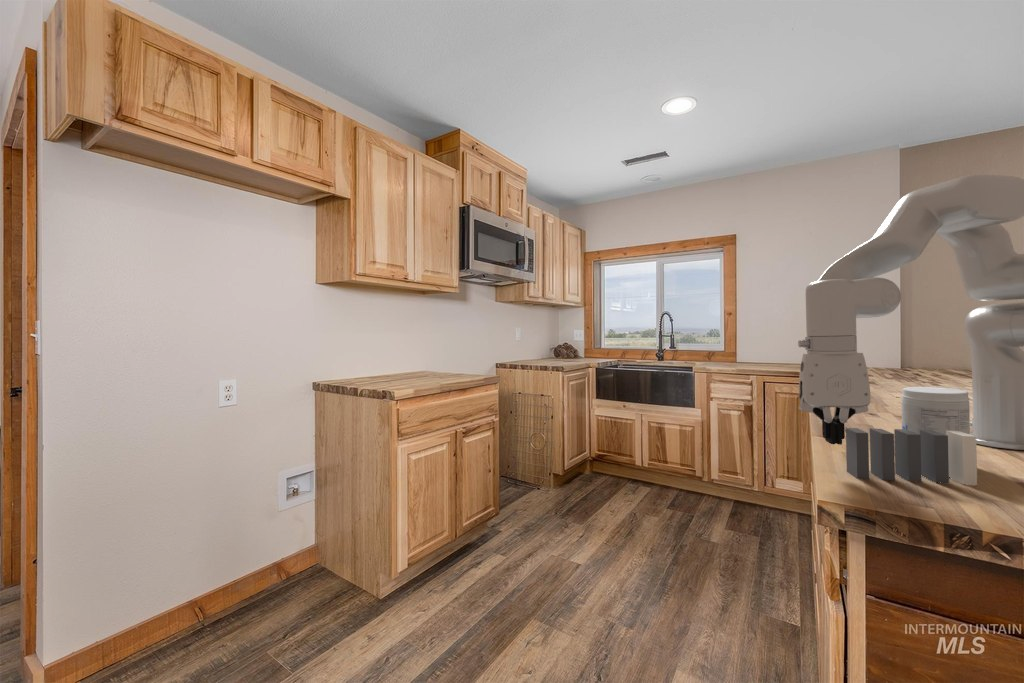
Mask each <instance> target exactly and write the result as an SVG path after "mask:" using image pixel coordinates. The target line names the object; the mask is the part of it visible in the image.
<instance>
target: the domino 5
mask: <svg viewBox="0 0 1024 683" xmlns="http://www.w3.org/2000/svg"><path fill="white" fill-rule="evenodd" d="M946 435H948V461H949V477H950V478H952V479H951V480H953V479H954V480H953V481H955V480H956V481H955V482H957V481H958V482H957V483H959V482H960V483H959V484H961V483H962V484H961V485H963V484H966V485H965V486H975V485H977V486H978V462H977V461H978V458H977V457H978V456H977V453H978V452H977V444H976V436H973V435H970V434H967V433H964V432H960V431H946ZM950 478H949V479H950ZM967 484H968V485H967Z"/></svg>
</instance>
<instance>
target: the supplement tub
mask: <svg viewBox="0 0 1024 683" xmlns="http://www.w3.org/2000/svg"><path fill="white" fill-rule="evenodd" d="M901 391H902V394H901V429H906V430H909V431H912V432H914V433H917V434H920V430H933V431H936V432H939V433H942V434H945V435H946V431H960V432H964V433H967V434H970V433H971V432H970V431H971V430H970V429H971V428H970V427H971V426H970V421H971V420H970V419H971V418H970V412H971V410H970V409H971V408H970V398H969V392H968V391H967V390H964V389H959V388H951V387H950V388H949V387H938V386H937V387H935V386H907V387H903V388H902V390H901Z"/></svg>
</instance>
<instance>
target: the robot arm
mask: <svg viewBox="0 0 1024 683" xmlns="http://www.w3.org/2000/svg"><path fill="white" fill-rule="evenodd" d="M1023 217H1024V178H1021V177H1019V176H1014V175H999V174H998V175H996V174H973V175H972V174H971V175H965V176H964V175H963V176H960V177H958V178H952V179H949V180H946V181H943V182H939V183H936V184H933V185H928V186H925V187H922V188H918V189H915V190H913V191H910V192H909V193H907V194H905V195H904V196H902V197H901V198H900V199H899V200H898V201H897V203H896V204H895V205H894V207H892V210H891V211H890V212H889V213H888V215H887V216H886V218H885V219H884V220H883V222H882V223H881V225H880V226H879V227H878V229H877V230H876V232H875V233H874V235H872V237H871V238H870V239H869V240H867V241H865V242H863V243H862V244H860V245H858V246H857V247H855V248H854V249H852V250H851V251H849V252H848V253H847V254H845V255H843V256H842V257H841V258H839V259H837V260H836V261H834V262H833V263H832V264H831V265H830V266H828V267H827V269H826V270H825V271H824V272H823V273H822V275H821V276H820V277H819V279H818V280H815V281H812V282H810V283H809V284H807V286H806V288H805V316H806V317H805V319H806V320H805V321H806V322H805V324H806V336H805V338H804V339H802V340H798V342H797V345H798V348H803V349H805V351H806V352H803V354H802V357H801V361H800V362H801V363H800V369H799V375H798V377H799V378H798V396H799V398H798V399H799V405H798V409H799V410H801V411H803V412H806V413H811V414H814V415H815V416H816V417H818V418H819V420H820V421H821V427H822V428H821V429H822V432H821V433H822V438H823V439H824V440H825V442H826V443H828V444H830V445H836V444H837V445H839V446H840V445H843V440H845V439H846V431H845V424H846V423H847V422H848V421H849V419H851V418H852V417H853V416H854V415H856V414H863V413H867V412H868V411H869V405H870V404H871V399H872V398H871V396H872V395H871V386H870V380H869V373H868V368H867V367H868V366H867V364H866V360H865V356H864V353H863V352H858V341H857V340H858V339H857V337H858V336H857V319H866V318H867V319H869V318H879V317H884V316H886V315H889V314H891V313H893V312H894V311H895V310H896V309H898V306H899V305H900V303H901V299H902V293H901V290H900V287H899V286H898V285H897V284H896V283H895V282H893V281H892V280H890V279H887V278H884V277H878V276H881V275H884V274H887V273H890V272H893V271H895V270H898V269H899V268H903V267H905V266H907V265H909V264H910V263H912V262H915V261H916V260H918V258H919V257H920V256H921V255H922V254H923V252H924V251H925V249H926V248H927V246H928V244H929V243H930V242H931V240H932V238H933V237H934V236H937V237H940V238H941V239H943V240H944V241H945V242H947V244H948V245H949V246H950V247H951V249H952V251H953V254H954V257H955V260H956V263H957V268H958V271H959V275H960V279H961V283H962V286H963V289H964V292H965V293H966V295H967V296H968V297H969V298H970V299H972V300H975V301H979V302H993V301H994V302H996V301H1009V300H1024V253H1017V252H1016V251H1015V248H1014V245H1013V242H1012V239H1011V235H1010V232H1009V231H1008V230H1007V229H1006V228H1005V227H1004V226H1003V225H1002V224H1006V223H1010V222H1011V223H1012V222H1015V221H1018V220H1020V219H1022V218H1023ZM964 330H965V333H966V334H965V335H966V337H967V340H968V344H969V349H970V350H969V351H970V357H971V358H970V359H971V384H972V386H971V389H972V394H971V395H972V420H970V427H972V432H970V435H973V436H976V445H981V446H986V447H993V448H997V449H999V448H1000V449H1007V450H1018V451H1019V450H1020V451H1024V350H1023V349H1022V348H1021V347H1024V301H1023V302H1007V303H993V304H986V305H982V306H979V307H977V308H974V309H973V310H970V311H969V313H967V315H966V316H965V318H964ZM831 408H834V412H833V417H832V411H831Z"/></svg>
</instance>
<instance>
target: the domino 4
mask: <svg viewBox="0 0 1024 683" xmlns="http://www.w3.org/2000/svg"><path fill="white" fill-rule="evenodd" d="M920 435H921V475H922V476H921V477H923V476H924V477H923V478H925V477H926V478H925V479H927V478H928V479H927V480H929V479H930V480H929V481H931V480H932V481H931V482H933V481H934V482H939V483H938V484H941V483H949V484H950V478H949V461H948V435H945V434H942V433H939V432H936V431H933V430H920ZM934 482H933V483H934ZM940 482H941V483H940Z"/></svg>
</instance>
